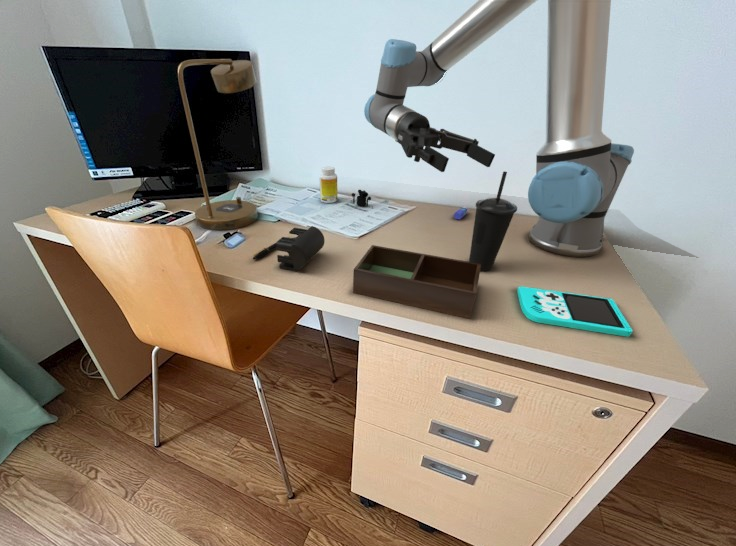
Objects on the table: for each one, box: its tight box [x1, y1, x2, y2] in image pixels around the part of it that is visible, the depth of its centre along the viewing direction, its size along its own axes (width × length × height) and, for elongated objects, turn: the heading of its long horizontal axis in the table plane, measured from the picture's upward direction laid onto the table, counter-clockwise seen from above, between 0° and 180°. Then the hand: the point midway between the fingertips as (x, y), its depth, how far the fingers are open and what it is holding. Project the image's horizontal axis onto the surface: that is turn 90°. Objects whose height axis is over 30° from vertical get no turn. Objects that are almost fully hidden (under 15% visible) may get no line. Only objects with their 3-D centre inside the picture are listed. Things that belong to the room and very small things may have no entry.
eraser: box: [453, 206, 469, 221], centre depth 99 cm, size 2×6×2 cm, turn 145°
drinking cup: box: [468, 171, 518, 272], centre depth 70 cm, size 8×8×20 cm
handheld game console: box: [516, 285, 633, 338], centre depth 61 cm, size 10×16×1 cm, turn 73°
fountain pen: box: [252, 236, 291, 261], centre depth 83 cm, size 14×1×2 cm, turn 149°
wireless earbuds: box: [351, 189, 372, 208], centre depth 106 cm, size 7×2×5 cm, turn 54°
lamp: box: [177, 58, 258, 231], centre depth 93 cm, size 17×27×38 cm, turn 157°
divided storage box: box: [352, 244, 481, 319], centre depth 66 cm, size 11×22×5 cm, turn 67°
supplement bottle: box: [319, 166, 338, 204], centre depth 109 cm, size 6×6×10 cm
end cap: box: [275, 225, 325, 272], centre depth 76 cm, size 10×7×7 cm
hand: (469, 163), depth 71 cm, fingers open, 13 cm apart
